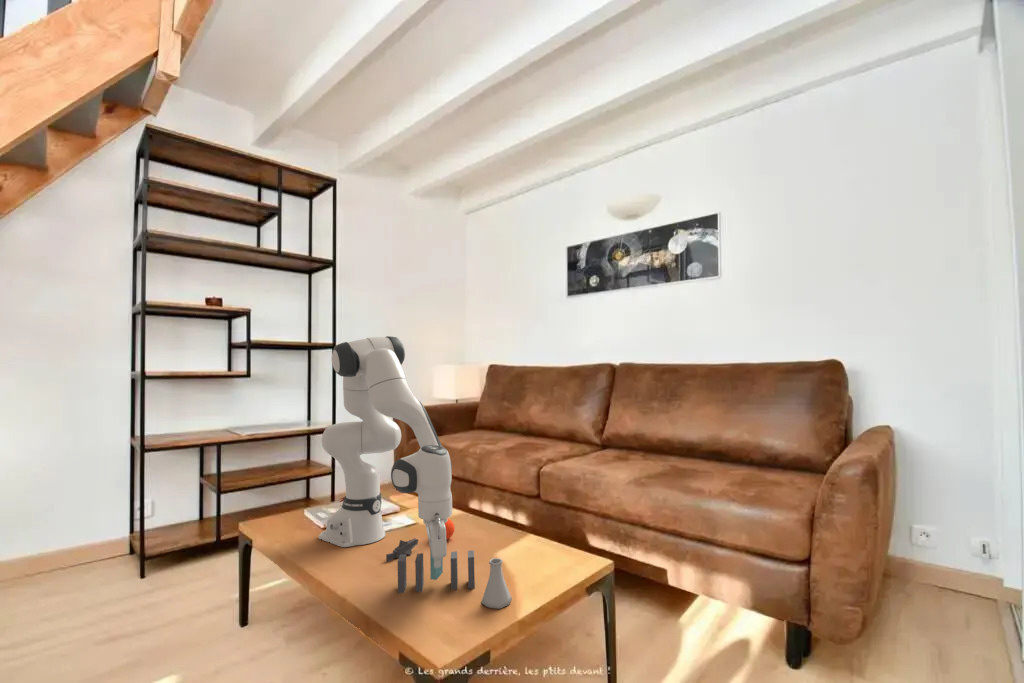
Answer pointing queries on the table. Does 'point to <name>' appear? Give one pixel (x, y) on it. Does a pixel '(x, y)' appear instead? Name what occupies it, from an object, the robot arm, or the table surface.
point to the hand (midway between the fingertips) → (436, 561)
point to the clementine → (449, 528)
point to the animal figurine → (402, 549)
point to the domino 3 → (435, 571)
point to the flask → (496, 587)
